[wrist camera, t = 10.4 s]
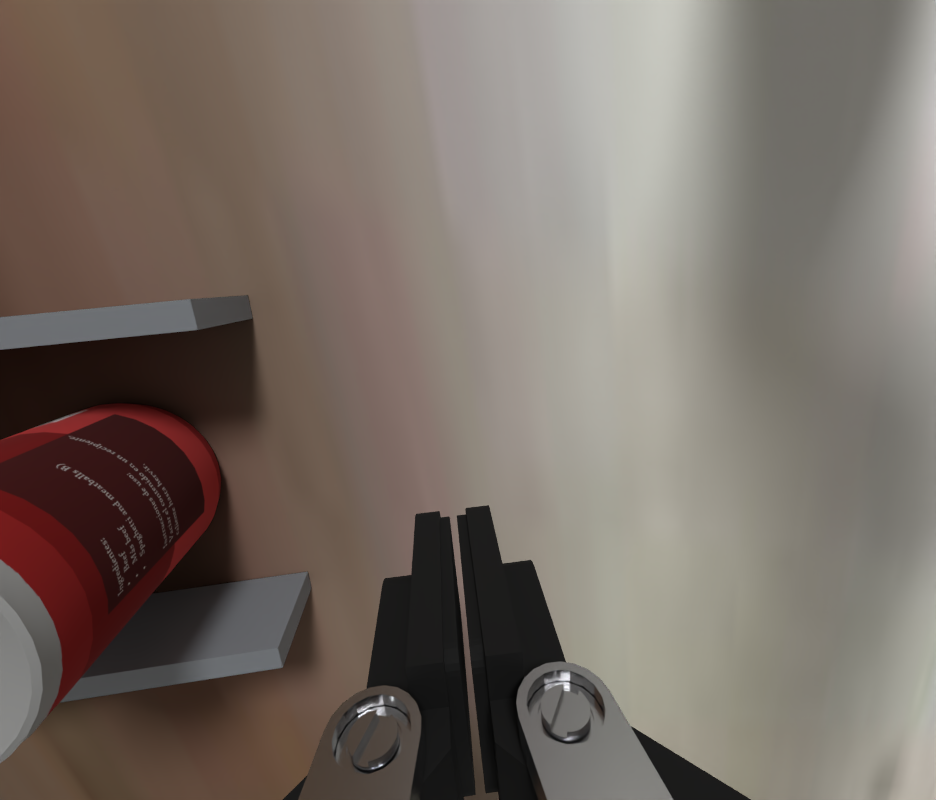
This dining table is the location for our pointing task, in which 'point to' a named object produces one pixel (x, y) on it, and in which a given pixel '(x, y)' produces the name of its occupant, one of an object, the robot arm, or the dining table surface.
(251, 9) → the dining table surface
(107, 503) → the canned food
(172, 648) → the box
